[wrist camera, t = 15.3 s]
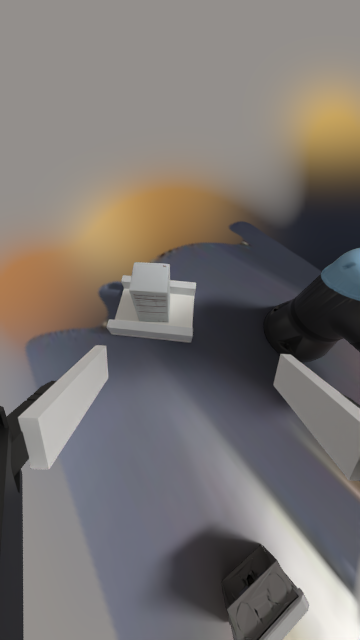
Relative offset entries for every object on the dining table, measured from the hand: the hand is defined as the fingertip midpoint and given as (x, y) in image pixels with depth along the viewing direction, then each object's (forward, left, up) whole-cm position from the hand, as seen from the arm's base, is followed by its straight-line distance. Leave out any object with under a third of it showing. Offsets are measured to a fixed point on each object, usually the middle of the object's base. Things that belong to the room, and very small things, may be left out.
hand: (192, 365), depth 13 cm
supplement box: (+6, -20, -26) cm, 33 cm away
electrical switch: (-10, +24, -27) cm, 37 cm away
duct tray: (+6, -20, -26) cm, 34 cm away
